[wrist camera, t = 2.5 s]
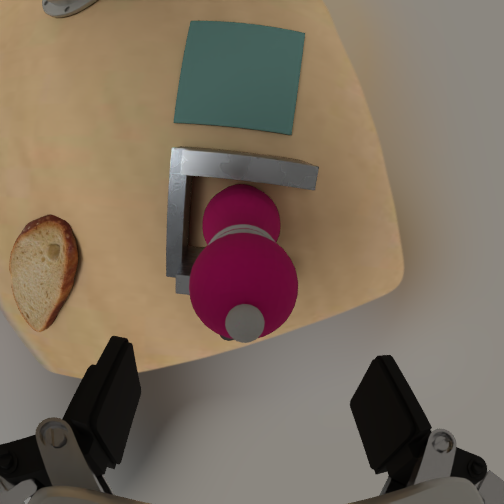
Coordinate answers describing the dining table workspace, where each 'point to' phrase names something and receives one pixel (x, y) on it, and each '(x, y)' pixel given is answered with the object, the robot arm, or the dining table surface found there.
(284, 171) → the grey c-clamp
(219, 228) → the pepper mill
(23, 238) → the bread slice
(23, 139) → the dining table surface
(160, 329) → the dining table surface
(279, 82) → the mat
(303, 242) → the dining table surface
